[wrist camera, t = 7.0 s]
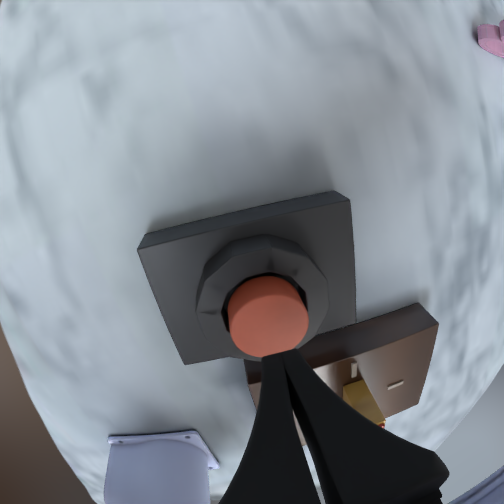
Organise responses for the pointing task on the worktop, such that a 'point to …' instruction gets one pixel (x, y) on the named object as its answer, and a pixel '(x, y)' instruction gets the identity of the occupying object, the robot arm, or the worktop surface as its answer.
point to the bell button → (266, 316)
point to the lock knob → (363, 402)
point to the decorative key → (492, 38)
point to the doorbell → (252, 269)
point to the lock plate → (370, 359)
